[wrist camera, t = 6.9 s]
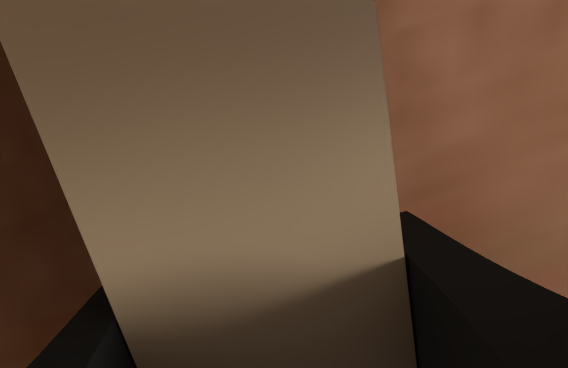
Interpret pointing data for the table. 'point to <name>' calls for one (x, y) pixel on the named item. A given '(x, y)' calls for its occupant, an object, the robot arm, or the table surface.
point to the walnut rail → (226, 174)
